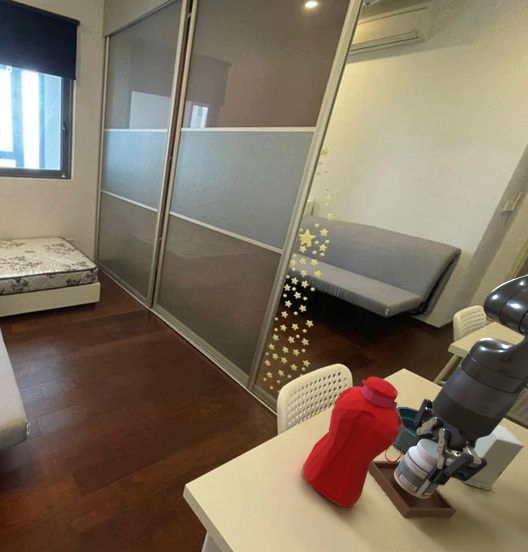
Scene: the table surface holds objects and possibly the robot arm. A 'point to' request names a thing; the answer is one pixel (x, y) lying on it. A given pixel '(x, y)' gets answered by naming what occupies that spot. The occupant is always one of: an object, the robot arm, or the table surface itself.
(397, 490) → the tray
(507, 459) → the box
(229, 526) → the table surface
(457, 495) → the table surface
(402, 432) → the bowl
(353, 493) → the water bottle
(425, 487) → the pill bottle
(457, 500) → the table surface
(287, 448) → the table surface
